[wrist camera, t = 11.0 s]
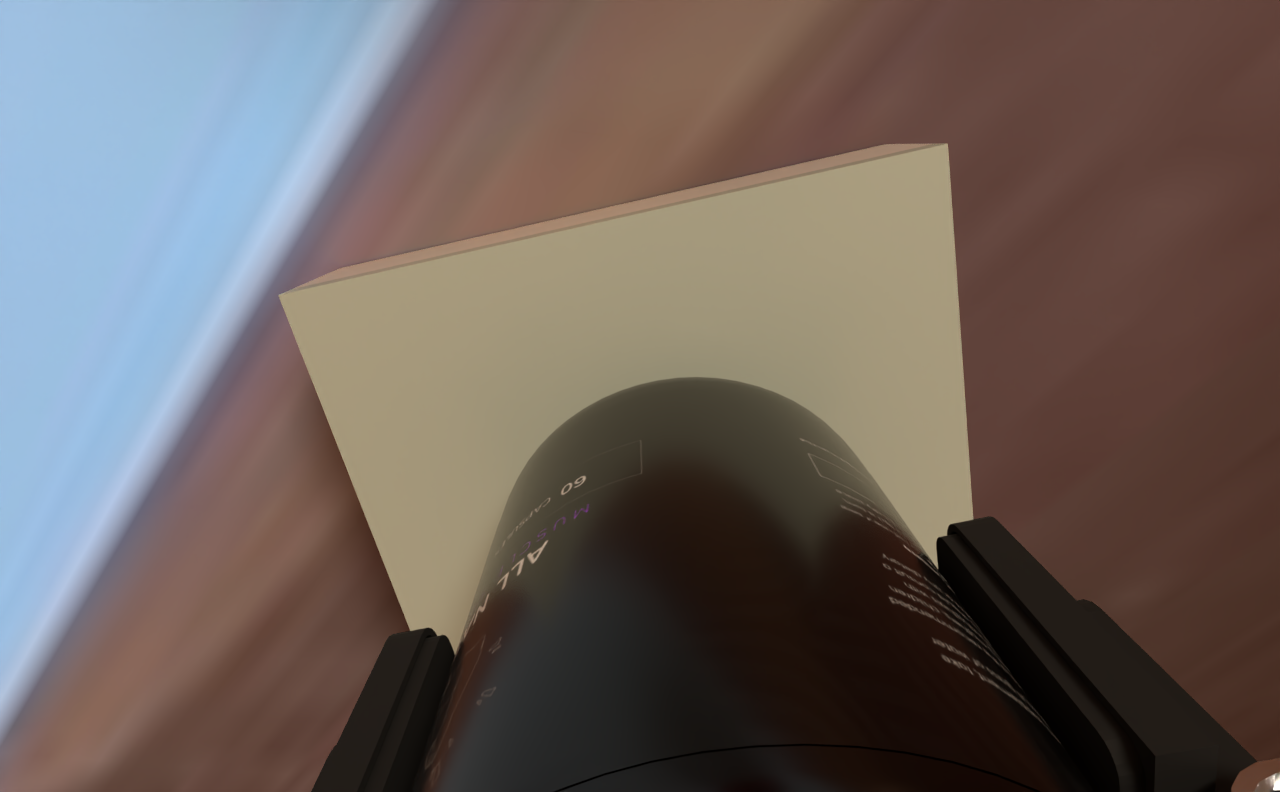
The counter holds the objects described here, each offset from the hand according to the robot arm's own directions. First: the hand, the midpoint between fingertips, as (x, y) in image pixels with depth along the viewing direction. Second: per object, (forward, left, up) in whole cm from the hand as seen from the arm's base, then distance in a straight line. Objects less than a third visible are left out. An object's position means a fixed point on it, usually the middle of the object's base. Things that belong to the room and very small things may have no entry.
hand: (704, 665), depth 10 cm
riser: (0, 0, -8) cm, 8 cm away
